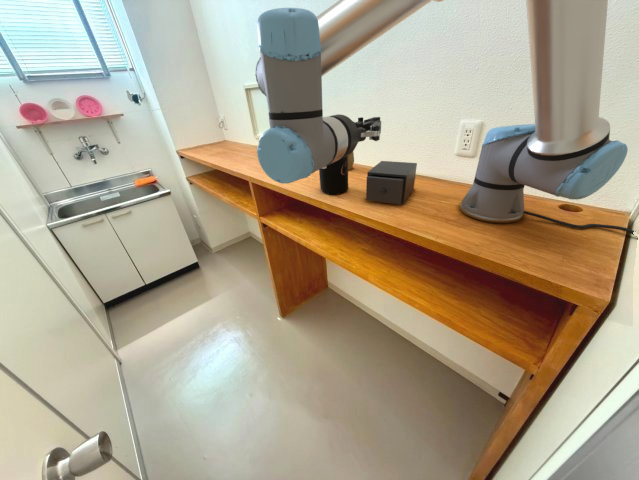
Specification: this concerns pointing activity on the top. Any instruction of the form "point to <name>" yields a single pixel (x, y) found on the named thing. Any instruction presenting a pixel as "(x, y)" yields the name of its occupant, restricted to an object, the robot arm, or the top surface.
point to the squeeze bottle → (350, 160)
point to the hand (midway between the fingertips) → (377, 123)
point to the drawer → (384, 189)
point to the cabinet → (397, 174)
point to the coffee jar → (334, 177)
